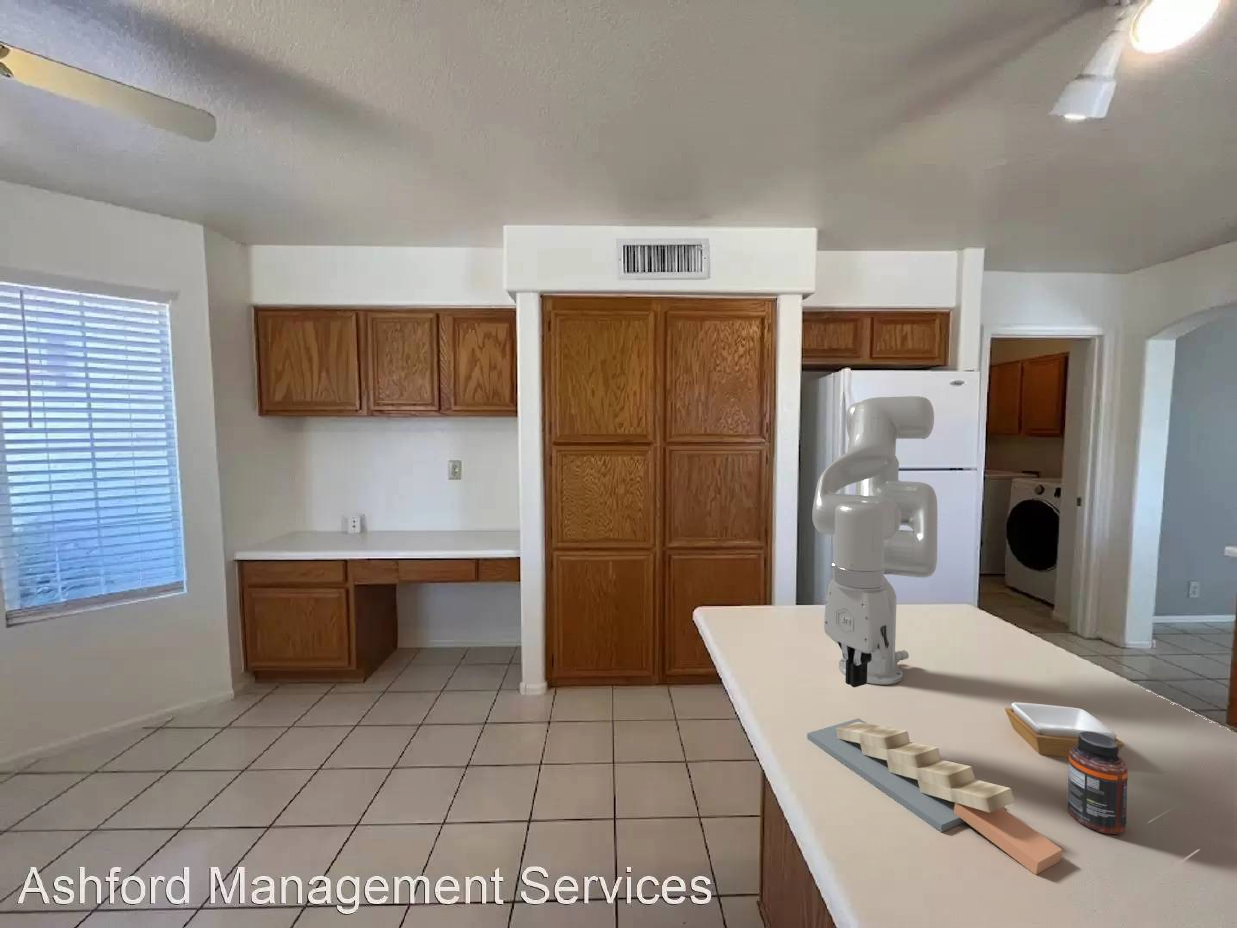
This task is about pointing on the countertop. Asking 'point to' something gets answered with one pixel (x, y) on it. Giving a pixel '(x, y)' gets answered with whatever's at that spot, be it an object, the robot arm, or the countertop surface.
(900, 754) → the domino
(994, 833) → the domino
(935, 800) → the runway mat
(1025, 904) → the countertop surface
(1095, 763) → the supplement bottle
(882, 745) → the domino
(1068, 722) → the soap dish
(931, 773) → the domino
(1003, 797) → the domino
